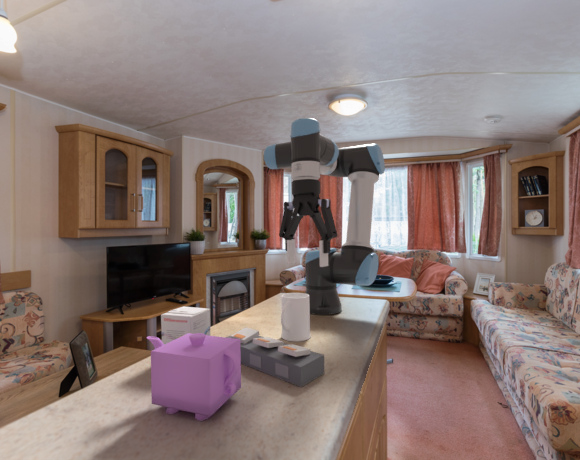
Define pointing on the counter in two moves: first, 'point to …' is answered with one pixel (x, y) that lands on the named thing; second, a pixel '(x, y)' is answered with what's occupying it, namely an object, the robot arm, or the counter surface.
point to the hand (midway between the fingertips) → (307, 264)
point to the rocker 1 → (245, 335)
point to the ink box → (184, 322)
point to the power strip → (282, 363)
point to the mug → (295, 317)
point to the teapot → (195, 373)
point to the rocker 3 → (294, 350)
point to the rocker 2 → (267, 342)
